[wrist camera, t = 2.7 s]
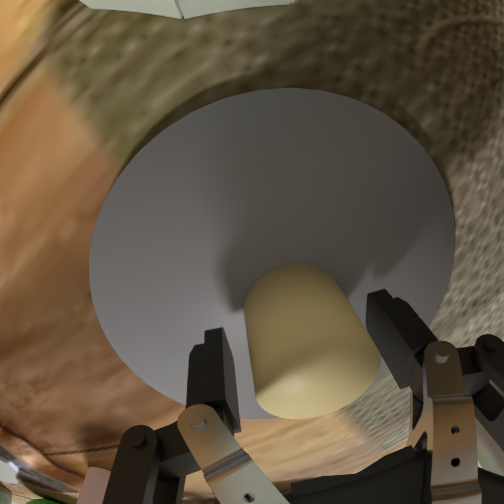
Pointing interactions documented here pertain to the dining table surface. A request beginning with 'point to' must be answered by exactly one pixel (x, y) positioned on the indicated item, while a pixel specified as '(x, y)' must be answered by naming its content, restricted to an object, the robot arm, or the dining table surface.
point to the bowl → (180, 6)
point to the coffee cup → (5, 496)
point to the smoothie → (94, 486)
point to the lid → (270, 246)
